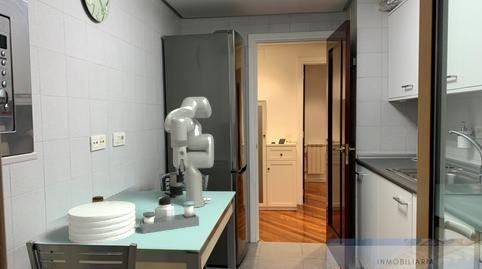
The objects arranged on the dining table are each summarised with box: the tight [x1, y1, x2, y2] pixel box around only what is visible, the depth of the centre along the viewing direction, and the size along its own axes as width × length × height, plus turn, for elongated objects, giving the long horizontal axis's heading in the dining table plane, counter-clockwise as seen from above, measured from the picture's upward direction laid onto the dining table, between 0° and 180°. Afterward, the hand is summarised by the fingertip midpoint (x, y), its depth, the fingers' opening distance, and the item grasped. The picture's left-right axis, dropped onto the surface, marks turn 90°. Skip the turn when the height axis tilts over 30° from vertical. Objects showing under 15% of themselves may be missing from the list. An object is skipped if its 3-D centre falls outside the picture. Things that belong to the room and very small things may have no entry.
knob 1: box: [142, 211, 155, 223], centre depth 160 cm, size 5×5×7 cm
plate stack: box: [67, 200, 137, 245], centre depth 156 cm, size 28×28×12 cm
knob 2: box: [182, 200, 195, 218], centre depth 168 cm, size 5×5×7 cm
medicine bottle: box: [154, 196, 175, 218], centre depth 173 cm, size 7×7×12 cm
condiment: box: [91, 195, 104, 203], centre depth 177 cm, size 7×8×12 cm
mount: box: [139, 213, 200, 235], centre depth 164 cm, size 26×9×4 cm, turn 115°
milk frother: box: [162, 171, 184, 199], centre depth 232 cm, size 14×16×15 cm
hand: (179, 182), depth 165 cm, fingers closed
